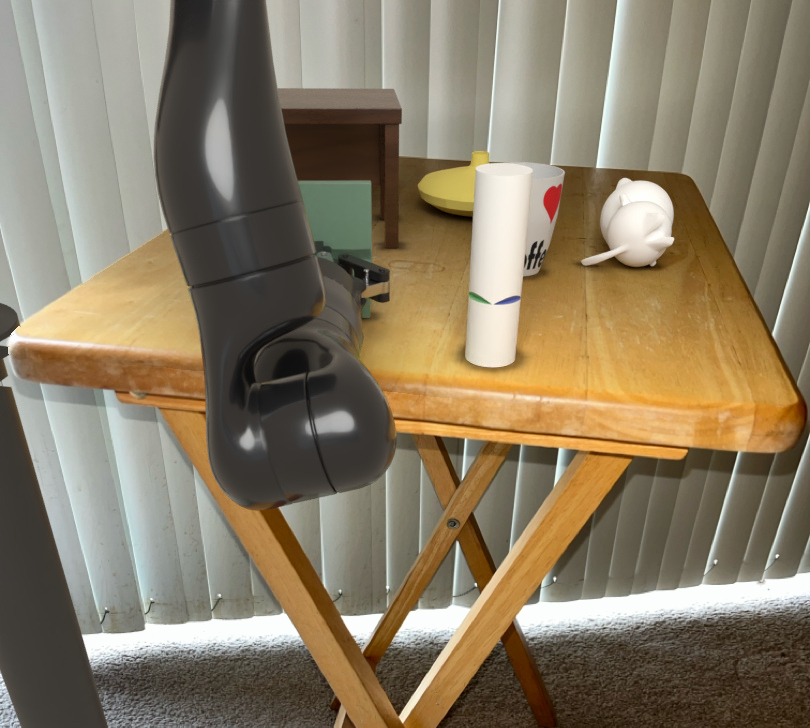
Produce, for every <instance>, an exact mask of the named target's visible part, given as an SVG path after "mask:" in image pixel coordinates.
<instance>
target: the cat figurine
mask: <svg viewBox="0 0 810 728" xmlns="http://www.w3.org/2000/svg"><path fill="white" fill-rule="evenodd" d="M674 211H675V210H674V204H673V202H672V200H671V198H670V196H669V194H668V193H667V191H666V190H665V189H664V188H662V187H661V186H660V185H659V184H657V183H654V182H652V181H648V180H631V179H630V178H627V177H623V178H621V179H619V181H618V182H617V184H616V188H615V190H614V191H613V192H611V193H610V195H609V196H608V197H607V198H606V200H605V201H604V204H603V206H602V208H601V212H600V218H599V227H600V231H601V235H602V238H603V240H604V241H605V242H606V244H607V246H608V248H609V250H608V251H606V252H602V253H598V254H596V255H595V254H594V255H593V256H588V257H586V258H583V259H581V260H580V262H581V265H582V266H591V265H592V266H593V265H596V264H598V263H601V262H604V261H606V260H608V259H611V258H613V257H614V258H615V259H616V260H617V261H618V262H620V263H622V264H623V265H626V266H628V267H632V268H633V267H634V268H639V267H645V266H648V265H649V266H650V267H655V265H656V264H657V260H658V259H660V257H662V256H663V254H664V253H665V252H666V250H667V249H668V248H669V247H671V246H672V245H673V243H674V241H675V237H674V236H672V229H673V228H672V227H673V224H674V217H675V214H674Z"/></svg>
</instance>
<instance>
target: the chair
mask: <svg viewBox="0 0 810 728" xmlns="http://www.w3.org/2000/svg"><path fill="white" fill-rule="evenodd" d="M298 183H299V187H300V190H301V194H302V198H303V202H304V205H305V209H306V213H307V217H308V220H309V224H310V228H311V232H312V236H313V239H314V241H315V242H316V241H323V242H324V246H330V247H331V249H332V256H333V258H335V259H338V255H341V254H350V255H353V256H355V257H358V258H360V259H363V260H366V261H368V262H371V263H373V219H372V218H373V214H372V212H373V211H372V210H373V209H372V208H373V207H372V206H373V205H372V185H371V181H298ZM353 276H354V270H353ZM361 314H362V319H371V317H372V316H371V299H369V300H367V302H366V305H365V306H364V307H363V308H362V309H361Z"/></svg>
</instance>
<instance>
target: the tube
mask: <svg viewBox="0 0 810 728" xmlns="http://www.w3.org/2000/svg"><path fill="white" fill-rule="evenodd" d="M532 176H533V169H532V168H530V167H527V166H524V165H519V164H511V163H507V162H491V163H490V162H489V164H483V165H480V166H477V167H476V173H475V190H474V208H473V216H472V225H471V230H472V231H471V242H470V243H471V244H470V263H469V277H468V278H469V279H468V298H467V312H466V313H467V315H466V331H465V350H464V358H465V360H466V361H467V362H469V363H470V364H473V365H475V366H478V367H482V368H501V367H506V366H509V365H512V364H513V363H514V362H515V361H516V355H517V342H518V331H519V323H520V312H521V301H522V300H521V299H522V288H523V280H524V279H523V278H524V276H523V271H524V260H525V249H526V239H527V228H528V218H529V207H530V197H531V186H532Z"/></svg>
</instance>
